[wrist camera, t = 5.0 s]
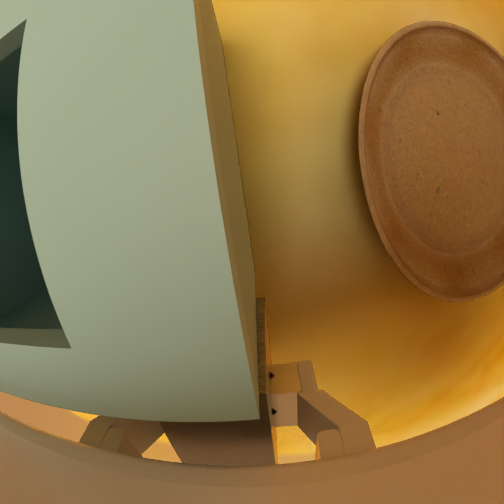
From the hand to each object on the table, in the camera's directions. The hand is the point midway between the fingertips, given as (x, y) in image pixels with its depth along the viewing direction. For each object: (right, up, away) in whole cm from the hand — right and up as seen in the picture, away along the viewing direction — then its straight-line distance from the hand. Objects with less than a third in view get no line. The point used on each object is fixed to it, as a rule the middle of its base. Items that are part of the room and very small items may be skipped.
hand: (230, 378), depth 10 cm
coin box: (-6, +8, +2) cm, 10 cm away
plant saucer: (+12, +10, +2) cm, 16 cm away
